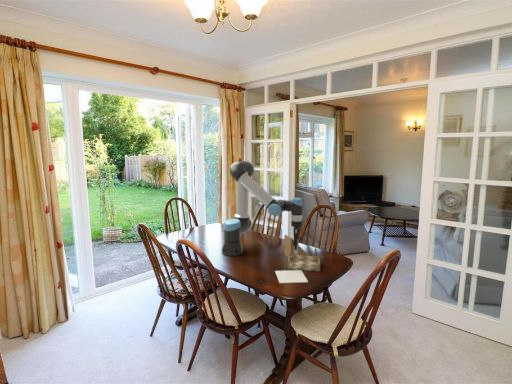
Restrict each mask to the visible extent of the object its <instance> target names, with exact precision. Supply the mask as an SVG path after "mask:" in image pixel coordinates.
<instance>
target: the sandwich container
mask: <svg viewBox="0 0 512 384" xmlns="http://www.w3.org/2000/svg"><path fill="white" fill-rule="evenodd" d="M283 236H284V237H283V238H284V246H283V247H284V249H283V250H284V251H283V252H284V254H283V255H284V256H285V257H286V258H288V259H289V254H291V255H302V256H310V255H309V254H308V253H307V252H306V251H305V250H304V249H303V248H302V247H301V246H300V244H299V245H298V254H294V245H293V244H294V238H292V237H291V236H289V235H287V234H284V235H283Z"/></svg>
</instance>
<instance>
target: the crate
mask: <svg viewBox="0 0 512 384" xmlns="http://www.w3.org/2000/svg"><path fill="white" fill-rule="evenodd" d="M320 257H321V256H320V255H317V256H315V255H309V256H302V255H291V254H289V258H288V259H287V264H286V265H287V270H301V271H305V272H306V271H309V272H321V258H320Z"/></svg>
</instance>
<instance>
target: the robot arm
mask: <svg viewBox="0 0 512 384" xmlns="http://www.w3.org/2000/svg"><path fill="white" fill-rule="evenodd" d="M254 173H255V166H254V164H253V163H251V162H250V161H246V160H243V161H241V160H240V161H235V162H233V163H232V164H231V165H230V167H229V174H230V177H232V179H233V180H234V181H235V182H237V184H236V185H237V186H236V187H237V188H236V211H235V214H234V215H233V218H229V219H226V220H225V221H224V223H223V238H224V239H223V240H224V241H223V245H222V248H221V253H222V254H223V255H224V256H229V257H236V256H240V255H243V253H244V249H243V246H242V245H243V244H242V242H241V235H243V234H245V233H248V232H249V231H250V229H251V228H252V223H253V222H252V220H251V217H250V215H249V195H250V193H251V195H253V196H254V198H256V199H257V200H258V201H259V202H260V203H262V205H263V206H265V208H267V211H268V213H269V214H270V215H271V216H278V215H280V214H281V213H283V212H290V220H291V221H290V226H291V227H292V228H293V229H292V230H293V240H294V244H293V245H294V254H298V245H299V246H300V236H299V234H300V228H302V227H303V218H304V216H303V207H304V206H303V199H302V197H292V198H291V200H286V199H275V198H274V197H273V196H272V195H270V194H269V193H268V192H267V191H266V190H265V188H263V187H262V186H261V185H260V184H258V183H257V181H255V180H254V179H253V178H252V176H253V175H254Z"/></svg>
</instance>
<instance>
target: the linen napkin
mask: <svg viewBox="0 0 512 384" xmlns="http://www.w3.org/2000/svg"><path fill="white" fill-rule="evenodd" d="M274 272H275V275H276V277H277V281H278V283H279V284H297V283H298V284H301V283H309V280H308V279H307V277H306V276H305V274H304V272H303V270H293V269H287V270H274Z"/></svg>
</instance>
